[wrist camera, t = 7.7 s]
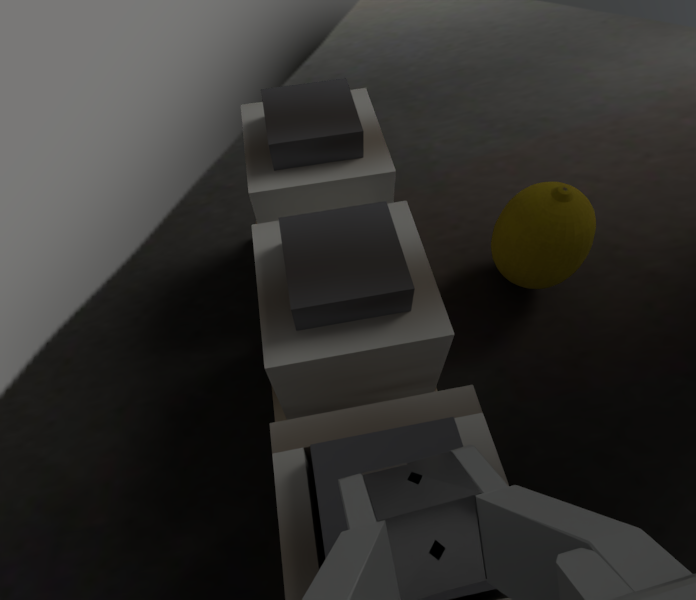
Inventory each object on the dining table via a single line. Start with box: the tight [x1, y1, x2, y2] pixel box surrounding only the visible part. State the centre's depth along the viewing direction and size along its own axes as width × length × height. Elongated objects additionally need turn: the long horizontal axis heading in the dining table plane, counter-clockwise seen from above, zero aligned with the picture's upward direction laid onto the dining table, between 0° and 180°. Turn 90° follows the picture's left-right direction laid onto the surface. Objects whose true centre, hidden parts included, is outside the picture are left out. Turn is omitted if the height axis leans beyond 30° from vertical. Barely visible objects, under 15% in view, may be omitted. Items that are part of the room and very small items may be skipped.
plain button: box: [310, 417, 496, 600], centre depth 15 cm, size 4×4×6 cm
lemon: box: [491, 182, 596, 289], centre depth 27 cm, size 6×6×8 cm
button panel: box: [241, 78, 512, 600], centre depth 22 cm, size 25×9×12 cm, turn 10°
